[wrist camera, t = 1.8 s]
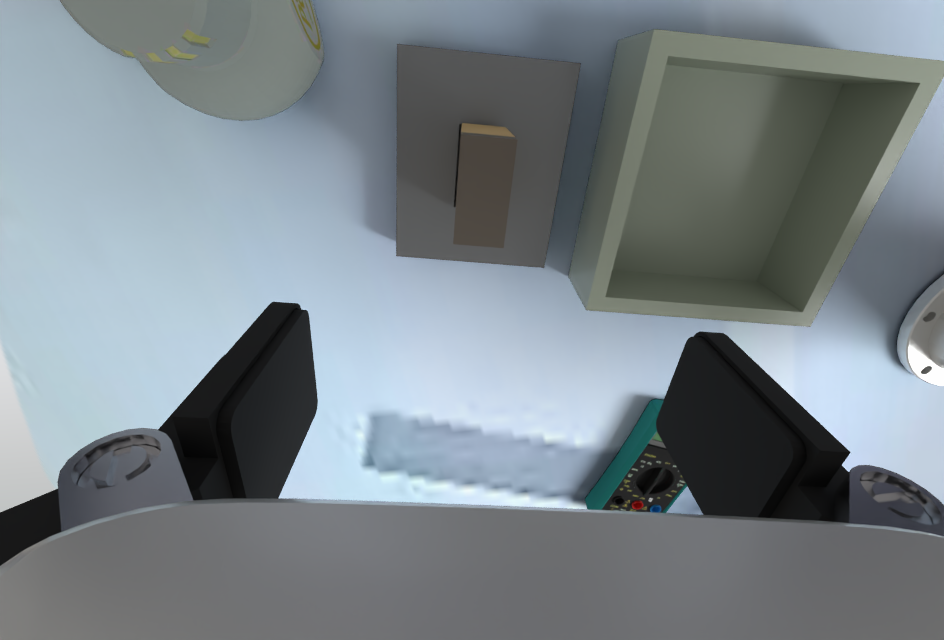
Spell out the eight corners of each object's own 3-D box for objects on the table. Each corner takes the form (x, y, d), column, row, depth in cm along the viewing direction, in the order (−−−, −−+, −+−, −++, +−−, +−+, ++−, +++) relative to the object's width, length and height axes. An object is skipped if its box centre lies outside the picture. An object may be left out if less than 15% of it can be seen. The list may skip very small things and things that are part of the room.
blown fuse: (502, 123, 27) (517, 139, 19) (493, 204, 29) (503, 248, 21) (462, 119, 27) (460, 134, 19) (456, 201, 29) (453, 244, 21)
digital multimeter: (579, 499, 45) (586, 525, 42) (650, 392, 38) (664, 414, 36) (641, 513, 46) (652, 539, 44) (721, 411, 39) (739, 434, 37)
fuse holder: (571, 65, 26) (580, 63, 24) (538, 255, 31) (544, 267, 29) (403, 47, 25) (397, 43, 23) (401, 243, 31) (396, 255, 29)
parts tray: (861, 66, 26) (951, 61, 21) (759, 291, 33) (810, 326, 28) (618, 39, 25) (654, 28, 20) (568, 276, 32) (586, 309, 27)
